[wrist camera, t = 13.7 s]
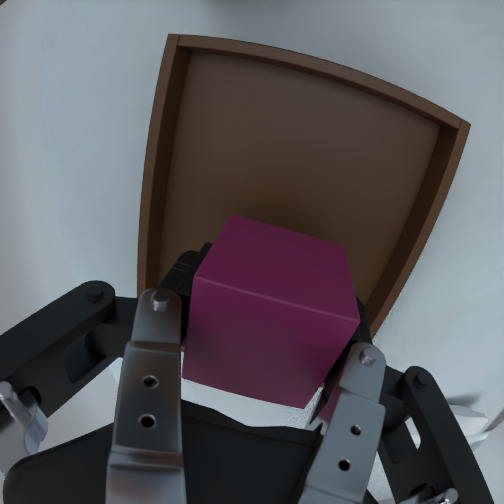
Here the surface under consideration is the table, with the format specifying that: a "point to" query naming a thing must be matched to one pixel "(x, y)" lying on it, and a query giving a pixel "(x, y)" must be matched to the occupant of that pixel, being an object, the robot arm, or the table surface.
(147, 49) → the table surface
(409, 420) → the white fish figurine
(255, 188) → the tray
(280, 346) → the pink block
